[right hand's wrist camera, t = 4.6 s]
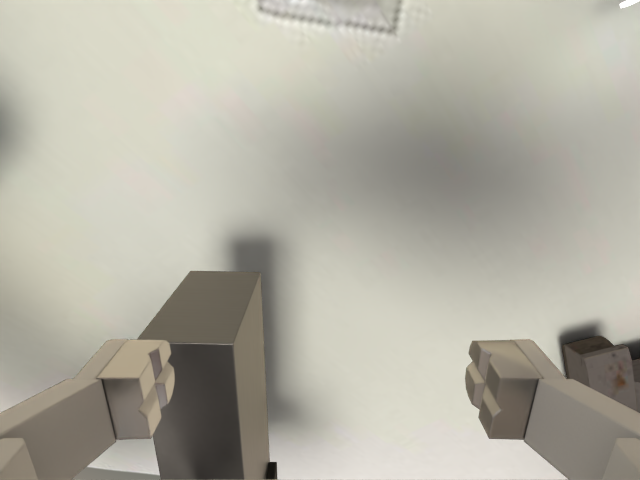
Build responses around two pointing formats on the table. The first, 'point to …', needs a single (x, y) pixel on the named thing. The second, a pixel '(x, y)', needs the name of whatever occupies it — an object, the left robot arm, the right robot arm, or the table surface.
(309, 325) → the table surface
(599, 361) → the toy
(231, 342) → the bar
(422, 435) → the table surface
